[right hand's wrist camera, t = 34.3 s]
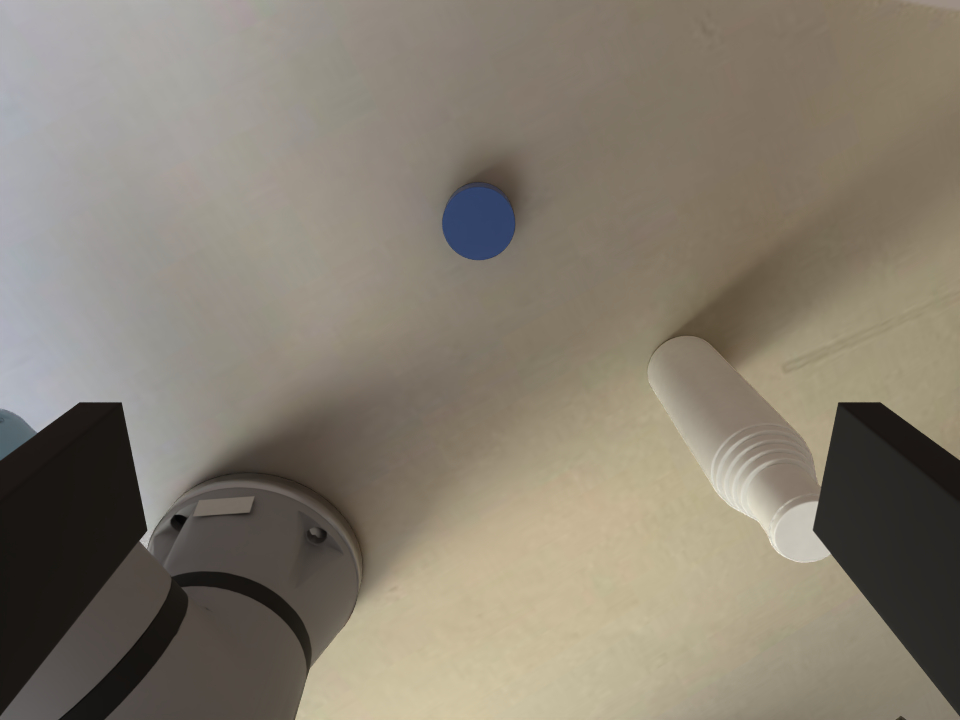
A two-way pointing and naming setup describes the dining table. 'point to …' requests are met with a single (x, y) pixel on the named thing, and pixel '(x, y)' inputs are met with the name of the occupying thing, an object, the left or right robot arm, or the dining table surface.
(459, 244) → the cap
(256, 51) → the dining table surface
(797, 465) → the bottle
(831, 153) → the dining table surface
